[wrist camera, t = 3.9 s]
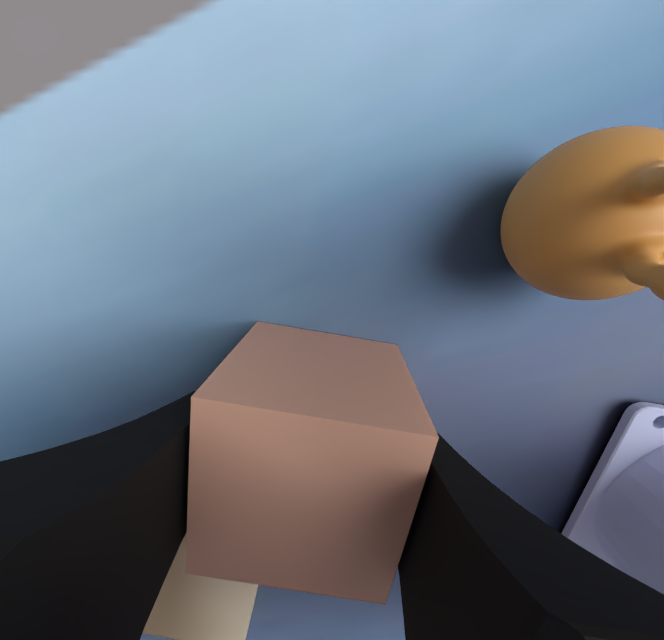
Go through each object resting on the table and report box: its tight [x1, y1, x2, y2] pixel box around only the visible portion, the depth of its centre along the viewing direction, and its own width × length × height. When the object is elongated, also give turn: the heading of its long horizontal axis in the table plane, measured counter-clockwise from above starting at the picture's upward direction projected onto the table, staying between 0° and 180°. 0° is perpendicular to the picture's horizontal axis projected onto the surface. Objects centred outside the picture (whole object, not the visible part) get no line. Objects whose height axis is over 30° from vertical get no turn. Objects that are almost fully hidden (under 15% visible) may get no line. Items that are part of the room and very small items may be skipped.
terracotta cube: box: [185, 321, 439, 604], centre depth 9 cm, size 5×5×5 cm
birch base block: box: [142, 532, 258, 640], centre depth 13 cm, size 6×6×3 cm
